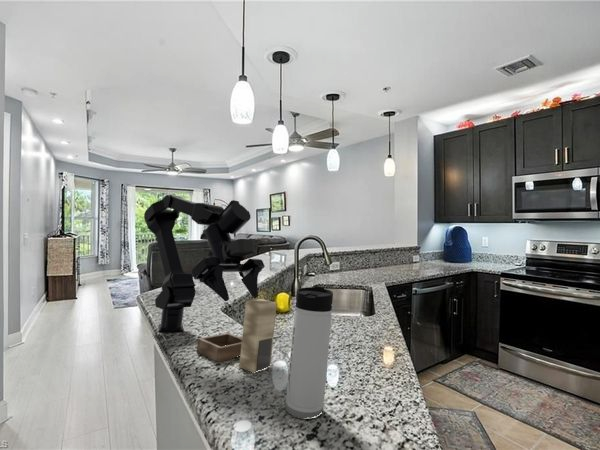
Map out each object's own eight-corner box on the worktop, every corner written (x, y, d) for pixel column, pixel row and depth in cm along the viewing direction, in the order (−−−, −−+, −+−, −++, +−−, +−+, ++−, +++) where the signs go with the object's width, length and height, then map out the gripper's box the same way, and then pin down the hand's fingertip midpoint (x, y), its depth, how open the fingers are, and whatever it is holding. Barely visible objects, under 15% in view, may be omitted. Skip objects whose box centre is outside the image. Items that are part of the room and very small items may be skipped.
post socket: (196, 351, 75) (198, 338, 75) (227, 344, 82) (228, 333, 82) (218, 362, 70) (219, 348, 70) (249, 354, 77) (250, 341, 77)
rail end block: (239, 366, 68) (246, 300, 69) (256, 361, 72) (262, 299, 73) (254, 374, 65) (261, 304, 66) (271, 368, 69) (277, 303, 70)
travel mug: (327, 405, 55) (337, 288, 56) (317, 424, 49) (328, 292, 50) (293, 396, 57) (304, 284, 59) (279, 413, 51) (291, 287, 52)
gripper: (209, 221, 71) (232, 282, 65) (266, 229, 86) (290, 280, 79) (182, 249, 76) (202, 309, 69) (241, 252, 91) (261, 302, 84)
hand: (242, 298), depth 75 cm, fingers open, 9 cm apart
